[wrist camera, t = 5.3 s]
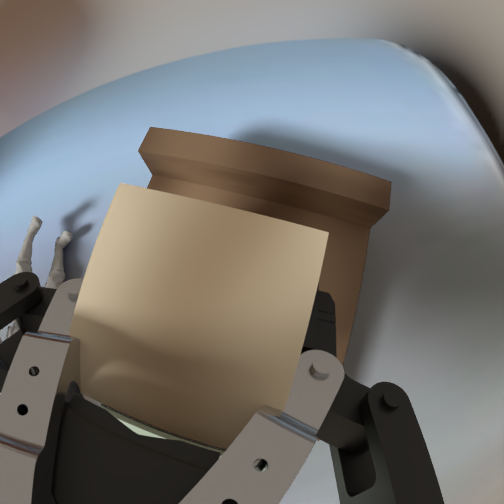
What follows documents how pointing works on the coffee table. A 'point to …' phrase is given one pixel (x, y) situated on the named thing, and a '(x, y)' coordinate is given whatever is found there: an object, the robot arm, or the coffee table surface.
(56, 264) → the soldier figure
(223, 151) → the walnut ledge
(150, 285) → the birch block
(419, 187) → the coffee table surface
